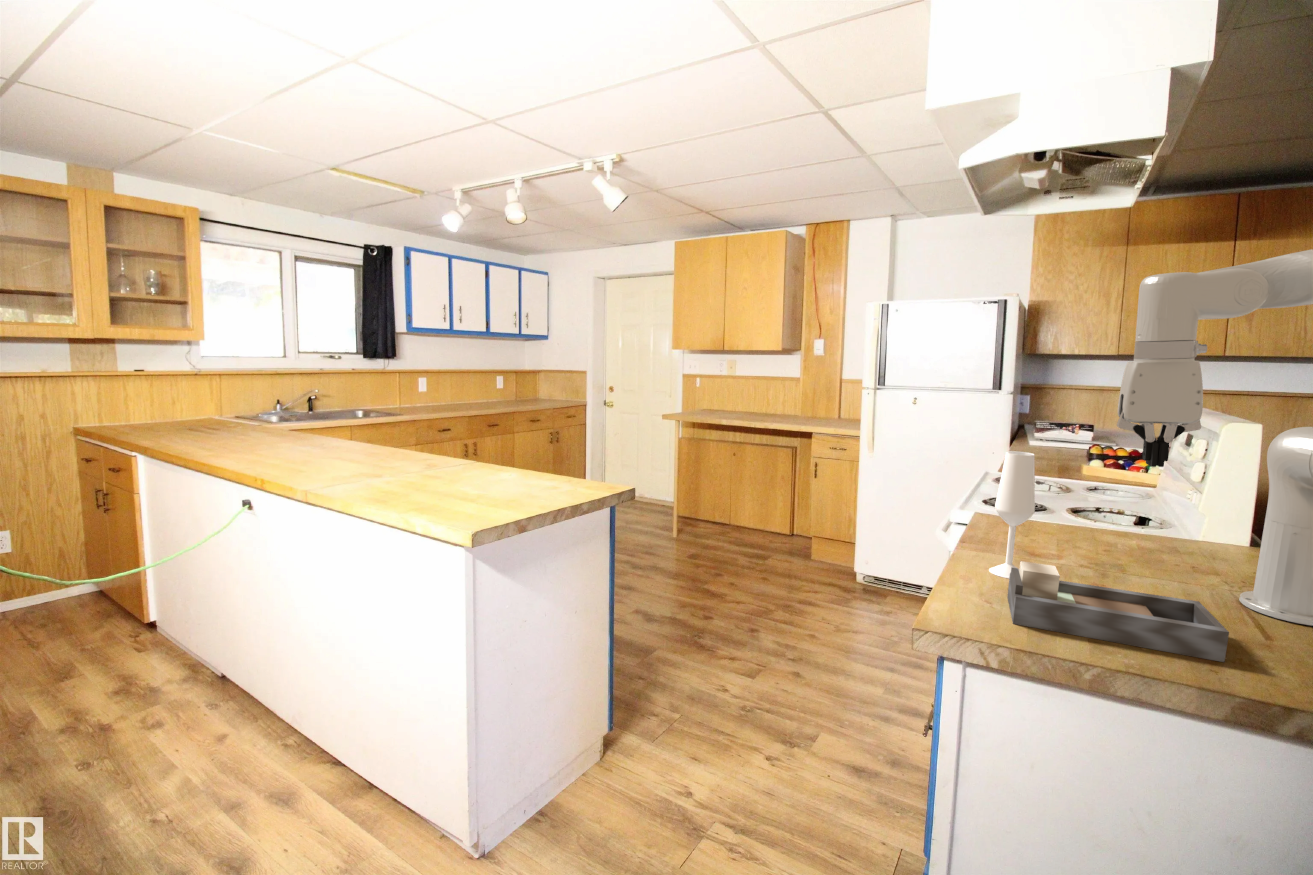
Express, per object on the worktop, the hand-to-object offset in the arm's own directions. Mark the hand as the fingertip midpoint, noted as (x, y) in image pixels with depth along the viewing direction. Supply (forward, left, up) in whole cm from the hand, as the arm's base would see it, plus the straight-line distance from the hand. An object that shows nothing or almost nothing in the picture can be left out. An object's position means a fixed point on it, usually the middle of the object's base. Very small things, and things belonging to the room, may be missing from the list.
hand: (1154, 465), depth 100 cm
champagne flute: (+18, -10, -25) cm, 33 cm away
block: (+16, +10, -22) cm, 29 cm away
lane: (+6, +10, -25) cm, 28 cm away
